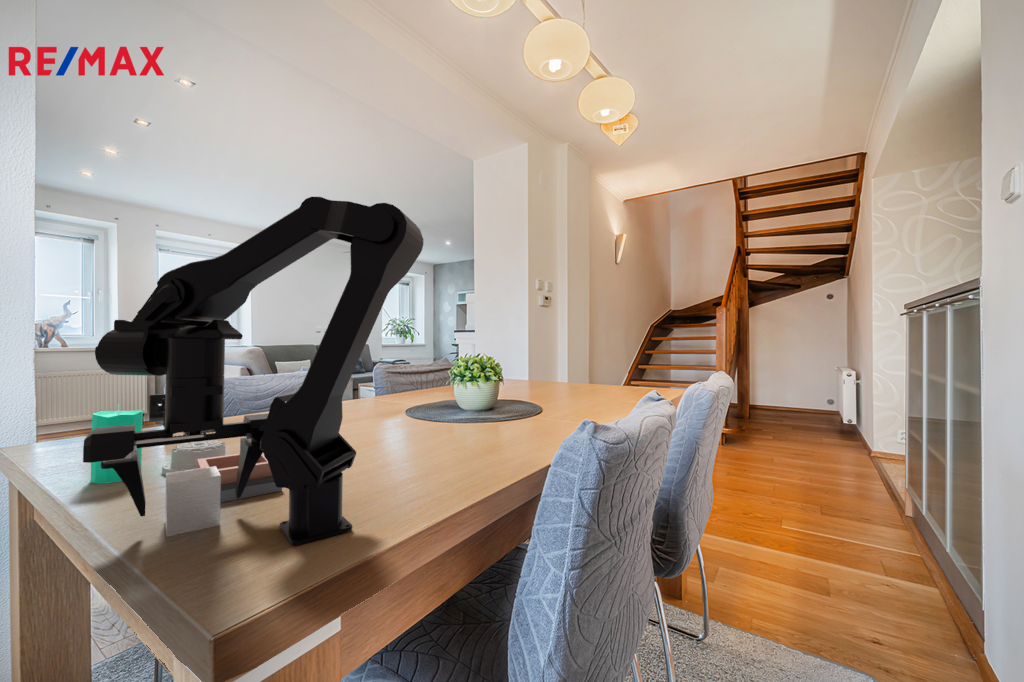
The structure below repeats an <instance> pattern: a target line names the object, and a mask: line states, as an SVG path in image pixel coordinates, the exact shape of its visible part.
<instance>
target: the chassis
mask: <svg viewBox="0 0 1024 682" xmlns="http://www.w3.org/2000/svg"><path fill="white" fill-rule="evenodd" d="M239 458H240V453H234V454H225V456H218V457H210V458H202V459H197V469H199V468H206V467H213V466H216V467H217V469H218V471H219V473H220V475H221V490H220V503H225V502H230V501H235V500H240V499H244V498H245V499H246V498H249V497H255V496H256V497H257V496H261V495H266V494H271V493H277V492H282V491H283V488H280V487H276V485H275V482H274V479H273V476H272V473H271V470H270V467H269V464H268V461H267V459H266V458H265V456H264V453H262V455H261V457H260V458H259V460H258V462H257V463H256V465H255V467H254V469H253V471H252V473H251V475H250V477H249V480H248V482H247V484H246V486H245V489H244V491H243V493H242V496H241V498H236V479H237V472H238V465H239Z"/></svg>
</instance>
